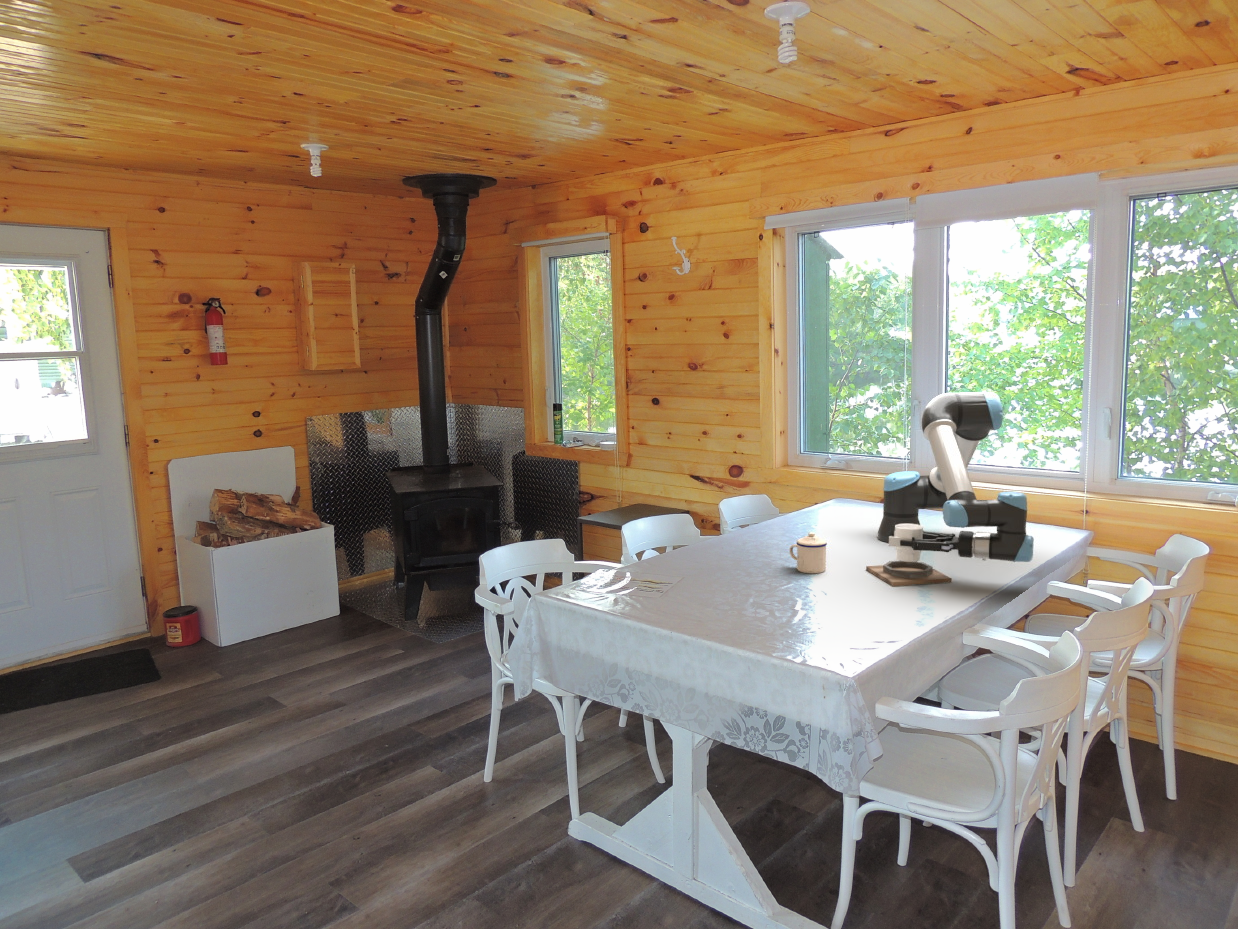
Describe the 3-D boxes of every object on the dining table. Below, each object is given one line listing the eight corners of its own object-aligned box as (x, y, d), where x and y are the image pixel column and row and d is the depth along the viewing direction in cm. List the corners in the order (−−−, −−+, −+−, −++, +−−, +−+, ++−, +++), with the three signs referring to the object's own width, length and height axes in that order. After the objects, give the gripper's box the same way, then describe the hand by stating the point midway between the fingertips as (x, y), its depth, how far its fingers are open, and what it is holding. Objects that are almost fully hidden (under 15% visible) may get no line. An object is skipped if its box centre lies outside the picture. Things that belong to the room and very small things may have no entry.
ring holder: (866, 570, 272) (866, 560, 272) (921, 566, 275) (921, 556, 274) (892, 586, 255) (892, 576, 254) (951, 582, 257) (951, 572, 257)
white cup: (890, 556, 267) (891, 524, 266) (915, 555, 268) (916, 523, 267) (900, 563, 260) (901, 529, 258) (926, 562, 260) (927, 528, 259)
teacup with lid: (831, 569, 274) (832, 532, 273) (817, 575, 267) (817, 537, 266) (797, 563, 282) (797, 527, 280) (782, 569, 275) (782, 532, 273)
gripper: (969, 566, 246) (884, 558, 257) (977, 549, 264) (897, 543, 275) (970, 539, 245) (885, 532, 256) (978, 524, 263) (898, 519, 274)
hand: (891, 538), depth 265 cm, fingers closed on white cup, 8 cm apart
